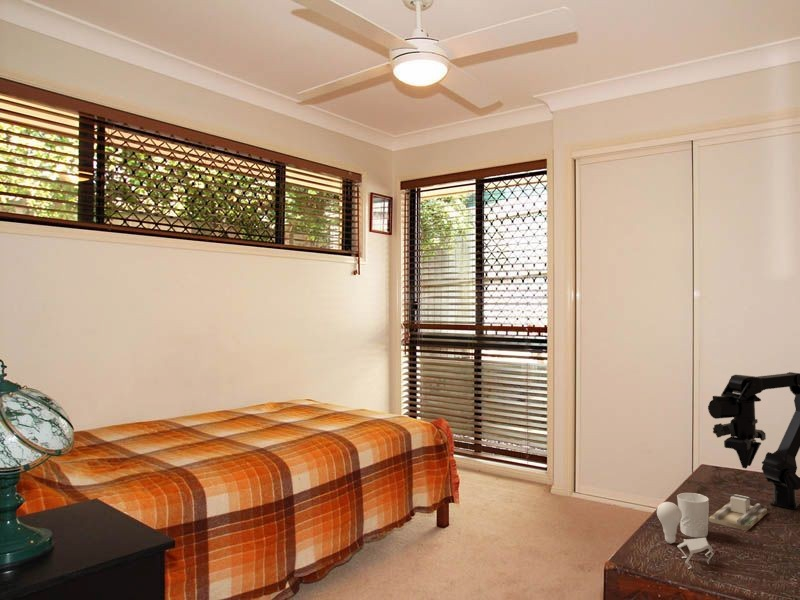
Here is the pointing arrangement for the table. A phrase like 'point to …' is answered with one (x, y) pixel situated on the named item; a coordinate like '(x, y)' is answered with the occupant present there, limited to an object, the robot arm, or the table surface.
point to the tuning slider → (739, 503)
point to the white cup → (694, 514)
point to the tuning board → (738, 517)
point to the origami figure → (696, 548)
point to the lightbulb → (669, 519)
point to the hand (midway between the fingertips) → (746, 466)
